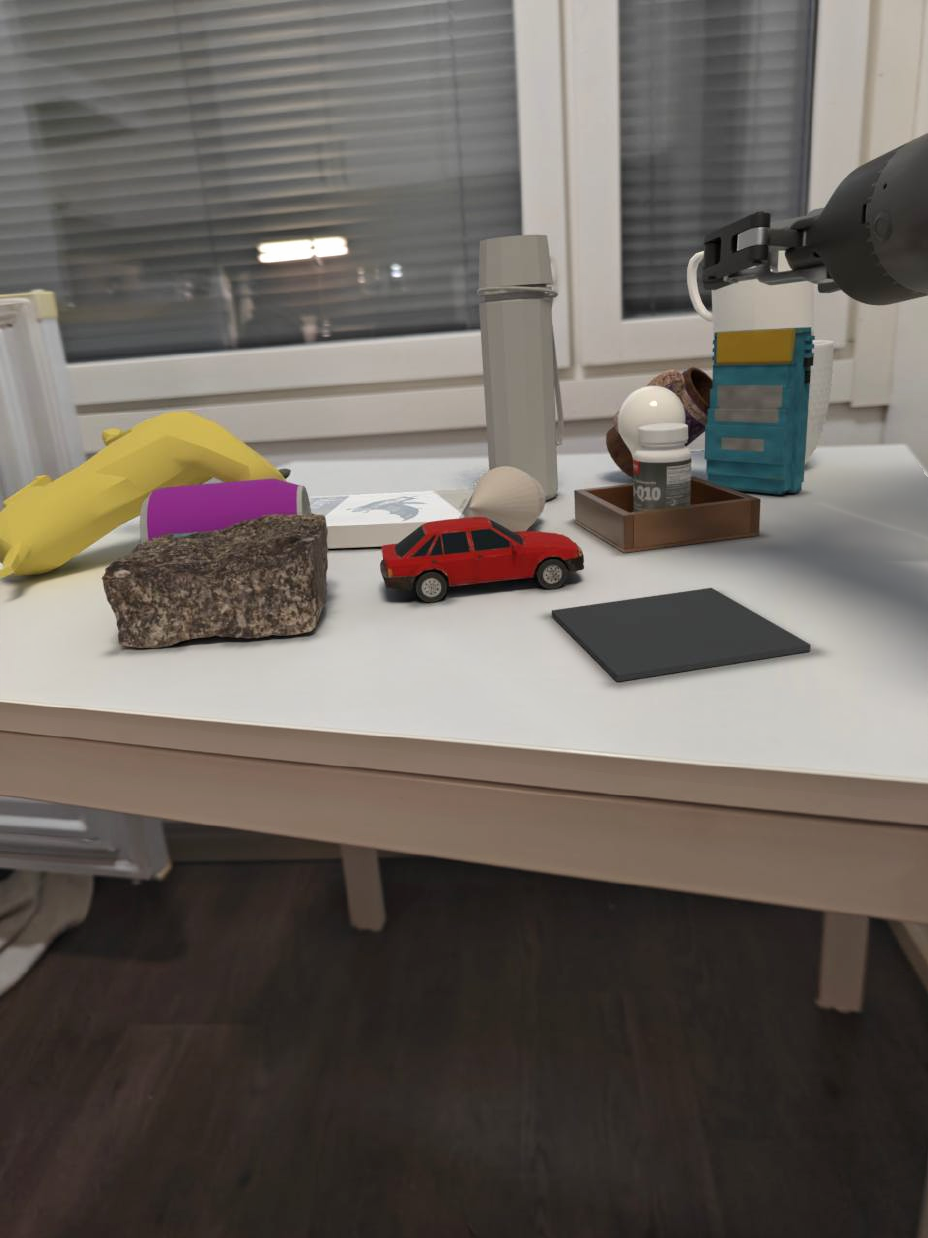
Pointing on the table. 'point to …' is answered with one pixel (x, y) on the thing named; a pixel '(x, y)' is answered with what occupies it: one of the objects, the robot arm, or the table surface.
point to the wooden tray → (667, 517)
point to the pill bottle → (662, 467)
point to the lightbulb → (648, 412)
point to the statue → (118, 487)
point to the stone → (222, 582)
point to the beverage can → (218, 505)
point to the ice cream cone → (508, 498)
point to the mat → (674, 633)
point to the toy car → (476, 556)
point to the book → (386, 515)
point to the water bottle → (520, 357)
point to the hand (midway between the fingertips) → (766, 275)
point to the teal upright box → (759, 409)
